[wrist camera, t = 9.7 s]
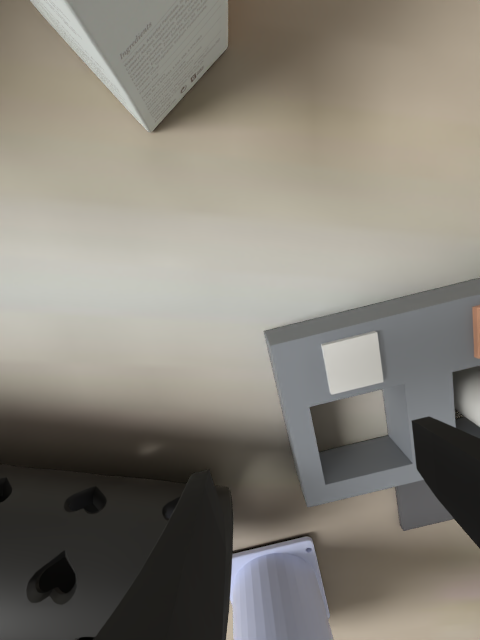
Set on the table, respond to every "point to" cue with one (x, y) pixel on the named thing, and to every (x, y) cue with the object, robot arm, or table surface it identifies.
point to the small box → (143, 46)
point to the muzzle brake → (80, 547)
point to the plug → (467, 393)
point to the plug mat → (419, 506)
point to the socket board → (375, 383)
